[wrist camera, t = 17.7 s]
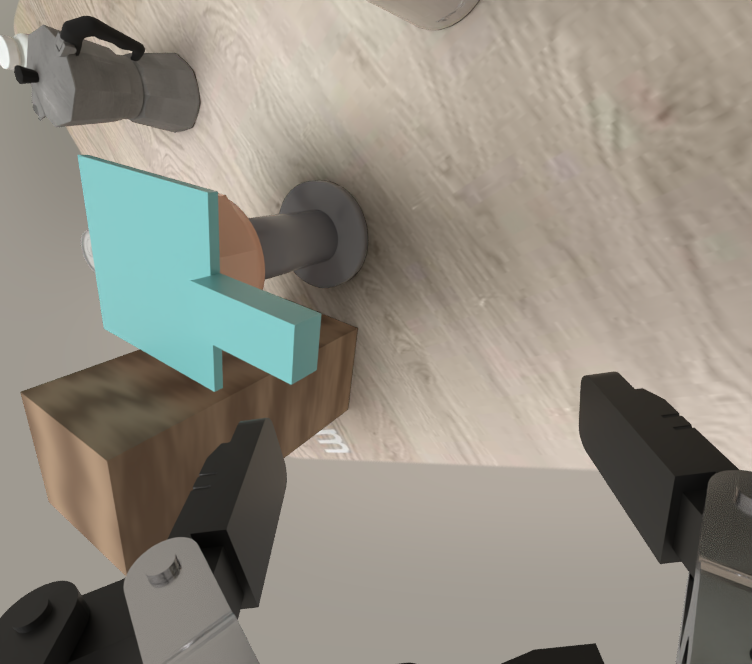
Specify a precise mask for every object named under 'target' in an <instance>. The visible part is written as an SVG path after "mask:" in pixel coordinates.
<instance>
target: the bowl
mask: <svg viewBox="0 0 752 664" xmlns="http://www.w3.org/2000/svg"><path fill="white" fill-rule="evenodd" d="M218 213H219V252H220V273H221V274H223V275H226V276H228V277H231V278H233V279H236V280H238V281H241V282H243V283H246V284H248V285H251V286H253V287H256V288H258V289H261V290H263V287H264V281H265V279H268V278H272V277H275V276H279V275H282V274H285V273H289V272H292V271H294V272H295V273H296V274H297V275H298V276H299V277H300V278H301V279H302V280H304V281H305V282H307V283H308V284H311V285H313V286H316V287H321V288H330V287H334V286H337V285H340V284H342V283H345V282H347V281H349V280H350V279H352V278H353V277H354V276H355V275H356V274H357V273H358V271H359V270H360V268H361V267H362V265H363V263H364V260H365V257H366V254H367V248H368V231H367V225H366V221H365V218H364V215H363V213H362V210H361V208H360V207H359V205H358V203H357V202H356V200H355V199H354V198H353V196H352V195H351V194H350V193H349V192H348V191H347V190H346V189H344V188H343V187H341V186H340V185H338V184H336V183H333V182H330V181H324V180H323V181H308V182H304V183H301V184H299V185H297V186H296V187H294V188H293V189H292V190H291V191H290V192H289V193H288V195H287V196H286V198H285V199H284V201H283V204H282V206H281V209H280V213H279V214H276V215H269V216H262V217H255V218H248V217H247V216H246V215H245V214H244V212H243V211H242V210H241V209H240V208H239V207H238V206H237V205H236V204H234V203H233V202H232V201H230V200H228V198H227V196H226V195H223V194H219V193H218Z"/></svg>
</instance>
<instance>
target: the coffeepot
mask: <svg viewBox="0 0 752 664" xmlns="http://www.w3.org/2000/svg"><path fill="white" fill-rule="evenodd" d="M91 36H95V37H96V38H98V39H101V40H104V41H107V42H110V43H113V44H115V45H116V46H117V47H119V48H121V49H124V50H130V51H132V53H129V54H125V55H116V54H115V53H114V52H113V51H112V50H111V49H109V48H107V47H104V46H101V45H98V44H96V43H93V42H90V41H87V40H84V38H86V37H91ZM144 52H145V48H144V46H143V44H141V43H139V42H137V41H135V40H134V39H132V38H130V37H128V36H126V35H125V34H123V33H121V32H119V31H117V30H115V29H114V28H112V27H110V26H108V25H106V24H105V23H103V22H101V21H100V20H98V19H96V18H94V17H91V16H82V17H79V18H75V19H72V20H69V21H66V22H65V23H64V24H63V27H62V30H61V31H59V30H56V29H54V28H51V27H48V26H46V25H42V26H41V27H40V28H38V29H37V30H35V31H34V32H32V33H31V34H29V35H28V48H27V65H26V67H23V66H19V65H16V66H15V68H14V73H15V77H16V80H17V81H18V82H19V83H20V84H25V83H31V86H32V103H33V109H34V111H35V113H36V114H37V115H38V116H39V120H40V121H41V120H42V119H43V118H45V117H47V118H48V119H49V120H50V121H51V122H52V124H53V125H54V126H55V127H63V126H74V125H85V124H95V123H106V122H115V121H118V120H122V119H129V120H131V121H132V122H135V123H139V124H143V125H147V126H151V127H155V128H159V129H163V130H167V131H171V132H179V131H184V130H187V129H190V128H192V126H193V124H194V123H195V121H196V118H197V116H198V111H199V103H200V100H199V89H198V84H197V81H196V78H195V75H194V73H193V70H192V69H191V68H190V66H189V65H188V64H187V62H185V61H184V60H183V59H182V58H180V57H179V56H178V55H177V54H176V53H144Z"/></svg>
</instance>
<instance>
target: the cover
mask: <svg viewBox="0 0 752 664" xmlns="http://www.w3.org/2000/svg"><path fill="white" fill-rule="evenodd" d="M78 161H79V168H80V174H81V181H82V187H83V194H84V201H85V207H86V214H87V220H88V227H89V234H90V240H91V247H92V253H93V260H94V266H95V273H96V280H97V286H98V293H99V299H100V306H101V312H102V319H103V325H104V329H106V330H107V331H109V332H111V333H113V334H114V335H116V336H118V337H120V338H121V339H123V340H125V341H127V342H129V343H130V344H132V345H134V346H135V347H137V348H139V349H141V350H142V351H144V352H146V353H148V354H149V355H151V356H153V357H155V358H156V359H158V360H160V361H162V362H163V363H165V364H167V365H168V366H170V367H172V368H174V369H175V370H177V371H179V372H181V373H182V374H184V375H186V376H188V377H189V378H191V379H193V380H195V381H196V382H198V383H200V384H202V385H203V386H205V387H207V388H209V389H210V390H212V391H214V392H216V391H218V390H220V389H222V388H223V371H222V350H224V351H226V352H228V353H230V354H232V355H234V356H236V357H237V358H239V359H241V360H243V361H245V362H247V363H249V364H251V365H253V366H255V367H257V368H259V369H261V370H263V371H265V372H267V373H269V374H271V375H273V376H275V377H277V378H279V379H281V380H283V381H285V382H287V383H289V384H291V385H292V384H294V383H295V382H297V381H299V380H301V379H302V378H304V377H306V376H307V375H309V374H311V373H313V372H314V371H316V370H317V361H318V349H319V337H320V325H321V313H319V312H316V311H314V310H311V309H309V308H306V307H304V306H301V305H299V304H296V303H293V302H291V301H288V300H286V299H283V298H281V297H278V296H276V295H273V294H271V293H268V292H266V291H263V290H261V289H258V288H256V287H253V286H251V285H248V284H246V283H243V282H241V281H238V280H236V279H233V278H231V277H228V276H226V275H223V274H221V273H220V252H219V213H218V192H217V191H213V190H210V189H206V188H203V187H199V186H196V185H192V184H189V183H185V182H182V181H178V180H175V179H171V178H168V177H164V176H161V175H157V174H154V173H150V172H147V171H143V170H139V169H136V168H132V167H129V166H125V165H122V164H118V163H115V162H111V161H108V160H104V159H101V158H97V157H94V156H90V155H78Z"/></svg>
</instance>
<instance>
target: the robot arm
mask: <svg viewBox="0 0 752 664" xmlns="http://www.w3.org/2000/svg"><path fill="white" fill-rule="evenodd" d="M366 1H368V2H370V3H372V4H374V5H376V6H378V7H380V8H382V9H384V10H386V11H388V12H390V13H392V14H394V15H396V16H398V17H400V18H402V19H404V20H406V21H408V22H410V23H412V24H414V25H416V26H418V27H420V28H423V29H427V30H439V29H443V28H446V27H449V26H451V25H453V24H455V23H457V22H458V21H460V20H461V19H462V18H463V17H465V16H466V15H467V14H468V13H469V12H470V11H471V10H472V8H473V7H474V6H475V5H476V4H477V2H478V1H479V0H366ZM579 433H580V438H581V441H582V444H583V447H584V449H585V450H586V452H587V454H588V455H589V457H590V458H591V460H592V461H593V463H594V464H595V466H596V467H597V469H598V470H599V472H600V473H601V475H602V476H603V478H604V480H605V481H606V483H607V484H608V486H609V487H610V489H611V490H612V492H613V493H614V495H615V496H616V498H617V499H618V501H619V502H620V504H621V505H622V507H623V508H624V510H625V512H626V513H627V515H628V516H629V518H630V519H631V521H632V522H633V524H634V525H635V527H636V528H637V530H638V531H639V533H640V534H641V536H642V537H643V539H644V540H645V542H646V543H647V545H648V547H649V548H650V549H651V551H652V553H653V554H654V555H655V557H656V559H657V560H658V562H659V563H660V564H665V563H673V562H682V563H683V564H684V566H685V567H686V568H687V570H688V571H689V575H688V579H687V585H686V593H685V601H684V608H683V615H682V622H681V629H680V636H679V644H678V651H677V659H676V664H752V472H751V471H744V470H739V469H738V468H737V467H736V466H735V465H734V464H733V463H732V462H730V461H729V460H728V459H727V458H726V457H725V456H724V455H723V454H722V453H721V452H720V451H719V450H718V449H717V448H716V447H715V446H713V445H712V444H711V443H710V442H709V441H708V440H707V439H706V438H705V437H704V436H703V435H702V434H701V433H700V432H699V431H698V430H696V429H695V428H692V426H691V424H690V423H689V422H688V421H687V420H686V419H685V418H684V417H683V416H680V415H679V413H678V412H677V411H676V410H675V409H674V408H673V407H672V406H671V405H670V404H669V403H668V402H667V401H666V400H665V399H663V398H661V397H659V396H657V395H655V394H653V393H651V392H649V391H647V390H645V389H643V388H642V389H634V388H633V387H632V386H631V385H630V384H629V383H628V382H627V381H626V380H625V379H624V378H623V377H622V376H621V375H620V374H619V373H618V372H608V373H601V374H593V375H586V376H583V378H582V380H581V390H580V411H579ZM286 483H287V473H286V466H285V461H284V458H283V455H282V452H281V448H280V445H279V442H278V439H277V435H276V432H275V429H274V426H273V423H272V421H271V419H270V418H261V419H254V420H246V421H240V422H239V423H238V425H237V427H236V430H235V432H234V434H233V436H232V439H231V441H230V442H228V443H221V444H220V445H219V446H218V447H217V448H216V449H215V450H214V451H213V452H212V453H211V454H210V455H209V456H208V457H207V459H206V461H205V463H204V465H203V467H202V469H201V471H200V473H199V477H197V479H196V481H195V483H194V485H193V490H192V491H190V494H189V496H188V498H187V500H186V502H185V504H184V506H183V508H182V510H181V512H180V514H179V516H178V518H177V520H176V522H175V524H174V526H173V528H172V531H171V533H170V535H169V537H168V539H167V540H165V541H162V542H160V543H158V544H156V545H154V546H153V547H151V548H150V549H148V550H147V551H146V552H145V553H143V554H142V555H141V556H140V557H139V558H138V559H137V560H136V561H135V562H134V564H133V565H132V566H131V568H130V569H129V571H128V573H127V575H126V578H124V579H122V580H120V581H117V582H115V583H112V584H110V585H107V586H105V587H102V588H100V589H97V590H94V591H92V592H90V593H87V594H84V595H81V594H80V592H79V591H78V589H77V588H76V586H75V585H74V584H73V583H71V582H68V581H56V582H52V583H49V584H46V585H43V586H41V587H39V588H37V589H35V590H33V591H31V592H30V593H28V594H27V595H25V596H24V597H22V598H21V599H20V600H18V601H17V602H16V603H15V604H14V605H12V606H11V607H10V608H9V609H8V610H7V611H6V612H5V613H4V614H3V615H2V617H1V618H0V664H259V662H258V660H257V658H256V656H255V654H254V652H253V650H252V648H251V646H250V644H249V642H248V640H247V638H246V636H245V634H244V632H243V630H242V628H241V626H240V624H239V622H238V617H239V613H240V609H247V608H255V607H259V603H260V598H261V594H262V590H263V585H264V580H265V576H266V572H267V568H268V563H269V559H270V555H271V550H272V546H273V541H274V537H275V533H276V529H277V524H278V520H279V515H280V511H281V506H282V503H283V498H284V494H285V490H286ZM401 664H414V663H401ZM502 664H604V662H603V660H602V657H601V655H600V653H599V650H598V648H597V646H596V644H585V645H576V646H566V647H556V648H547V649H537V650H532V651H530V652H528V653H525V654H523V655H521V656H519V657H516V658H514V659H511V660H509V661H507V662H504V663H502Z"/></svg>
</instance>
